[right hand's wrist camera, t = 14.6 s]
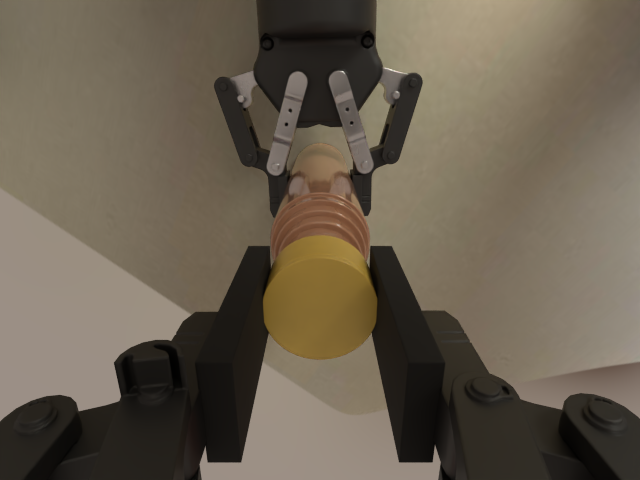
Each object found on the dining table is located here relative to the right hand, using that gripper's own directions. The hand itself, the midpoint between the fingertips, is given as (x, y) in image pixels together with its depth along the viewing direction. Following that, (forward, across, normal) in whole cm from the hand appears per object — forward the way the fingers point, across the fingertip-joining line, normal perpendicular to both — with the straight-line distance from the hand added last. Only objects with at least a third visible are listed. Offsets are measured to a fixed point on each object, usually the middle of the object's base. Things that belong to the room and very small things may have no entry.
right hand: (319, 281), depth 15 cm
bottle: (+22, 0, 0) cm, 22 cm away
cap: (-2, 0, 0) cm, 2 cm away
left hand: (+16, 0, -3) cm, 16 cm away
